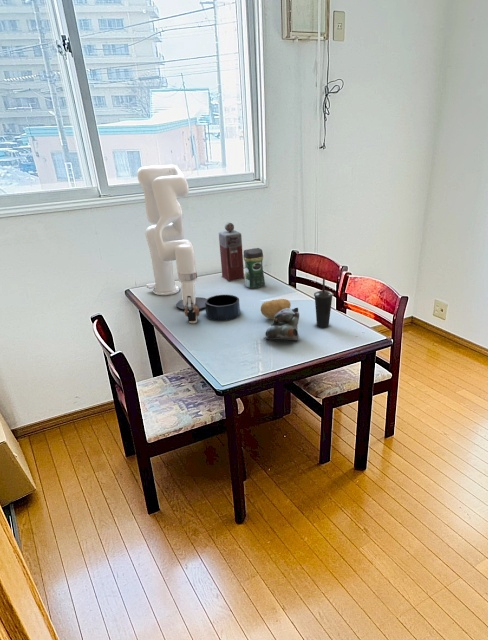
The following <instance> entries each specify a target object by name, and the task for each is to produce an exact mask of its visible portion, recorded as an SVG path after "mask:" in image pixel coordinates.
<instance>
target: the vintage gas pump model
mask: <svg viewBox="0 0 488 640" xmlns="http://www.w3.org/2000/svg"><path fill="white" fill-rule="evenodd" d="M242 237H243V236H242V233H241V232H240V231H237V230H235V225H234V224H233V223H232V222H230V221H229V222H226V223H225V224H224V230H223V231H218V242H219V243H218V244H219V254H220V255H219V256H220V265H221V277H222V278H223V279H225V280H226V281H228V282H233V281H239V280H243V279H244V280H245V269H244V258H243V255H244V252H243V240H242V239H243V238H242Z"/></svg>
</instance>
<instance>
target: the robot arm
mask: <svg viewBox="0 0 488 640" xmlns="http://www.w3.org/2000/svg"><path fill="white" fill-rule="evenodd" d="M137 180H138V183H139V185H140V187H141V189H142V191H143V195H144V196H143V197H144V203H145V213H146V218H147V220H148V222H149V223H151V224H152V225H150V226H147V227H146V229H145V233H144V234H145V239H146V242H147V245H148V249H149V253H150V260H151V265H152V271H153V272H152V273H153V277H154V282H153V283H146V286H145V287H146V288H147V289H149V290H152V289H153V291H152V292H153V294H155V295H157V296H171V295H175V294H177V293H179V291H180V287H179V286H178V285H176V280H175V279H176V278H175V273H174V264H173V262H174V261H175V263H176V271H177V279H178V280H177V281H179V282H180V283H181V284H180V285H181V294H182V300H183V305H184V306H185V305H186V304H187V311H188V312H187V315H188V317H187V320H188V322H189V321H196V315H195V311H194V305H195V302H196V297H197V294H196V293H197V292H196V291H197V290H196V283H195V282H196V281H197V280H198V273H197V266H196V265H197V264H196V256H195V249H194V246H193V243H192V242H191V241H190V240H189V239H184V238H185V234H184V233H185V231H184V217H183V215H184V214H183V209H182V206H181V204H180V202H179V201H178V198H185V197H187V196H188V195H189V193H190V192H189V191H190V189H189V188H190V187H189V183H188V180H187V178H186V176H185V174H184V173H183V172H182V170H181V169H180V168H179V167H178V166H177V165H176V164H164V165H149V166H142V167H139V168H138V170H137ZM192 306H193V308H192Z"/></svg>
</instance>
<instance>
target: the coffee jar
mask: <svg viewBox="0 0 488 640" xmlns="http://www.w3.org/2000/svg"><path fill="white" fill-rule="evenodd" d="M263 253H264V252H263V249H262V248H260V247H255V248H248V249H244V250H243V262H244V264H245V269H244V285H245V287H246V288H248V289H258V288H262V287H264V286H266V280H265V274H264V267H263V261H264V254H263Z"/></svg>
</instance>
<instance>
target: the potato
mask: <svg viewBox="0 0 488 640" xmlns="http://www.w3.org/2000/svg"><path fill="white" fill-rule="evenodd" d="M286 308H291V301H290V300H288V299H285V298H278V299H272V300H269V301H264V302H263V303H262V304H261V305H260V314H262V316H263V317H265V318H266V319H269V320H274V316H275V315H276V314H277V313H278V312H280V311H281V310H282V309H286Z"/></svg>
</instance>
